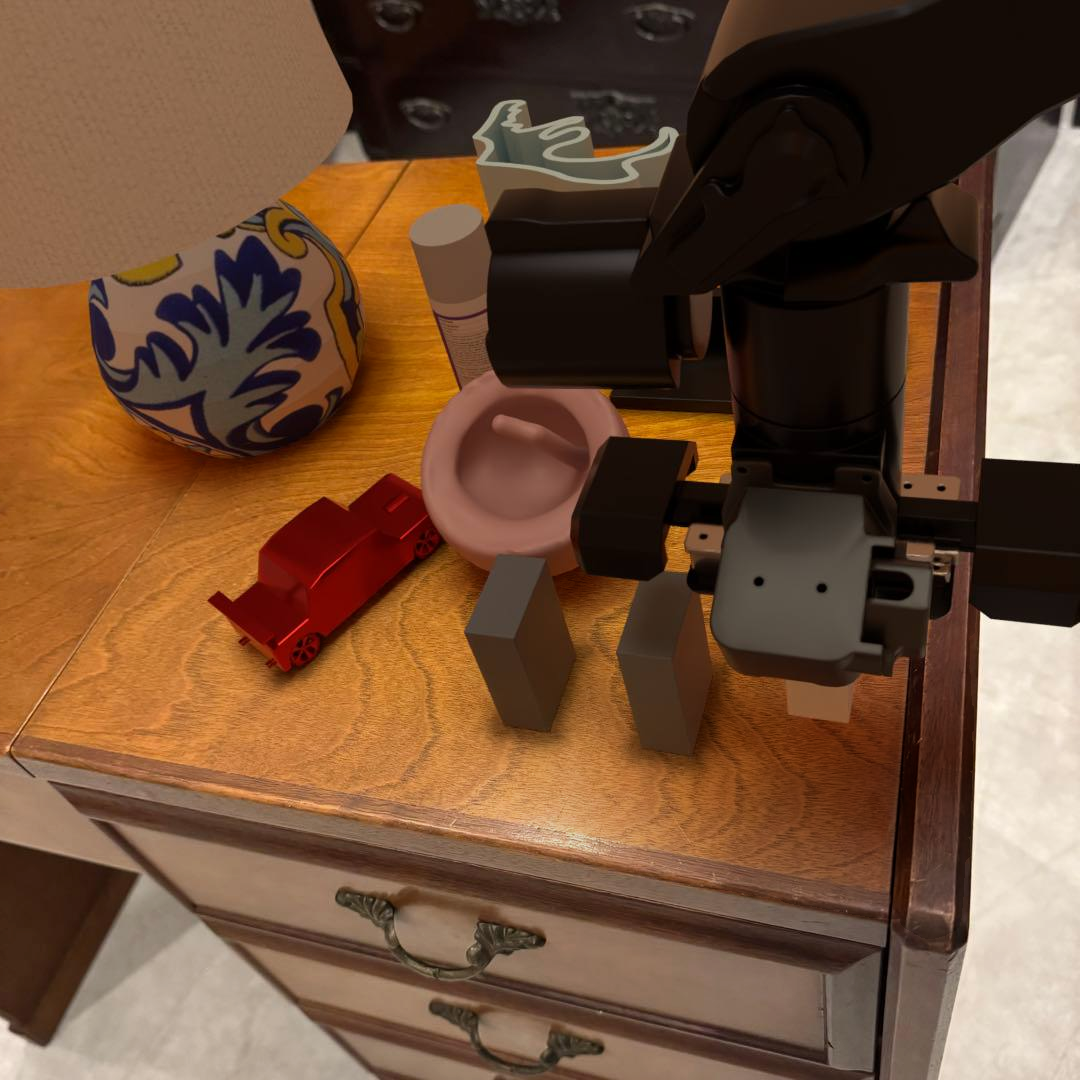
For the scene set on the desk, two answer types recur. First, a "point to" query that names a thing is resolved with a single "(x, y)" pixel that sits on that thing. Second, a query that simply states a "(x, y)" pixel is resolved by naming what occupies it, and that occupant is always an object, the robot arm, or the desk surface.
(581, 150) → the squiggly pen holder
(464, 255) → the container
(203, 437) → the table lamp
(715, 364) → the dark wooden base
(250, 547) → the desk surface
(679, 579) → the gray rectangular block
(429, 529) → the toy car
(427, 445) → the mortar and pestle
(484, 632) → the dark grey rectangular block
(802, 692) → the cream book
